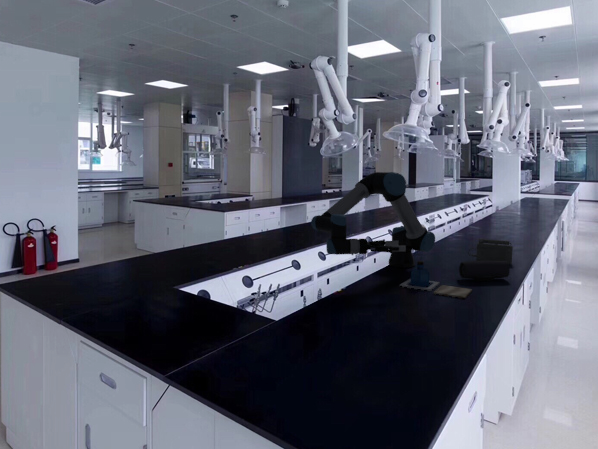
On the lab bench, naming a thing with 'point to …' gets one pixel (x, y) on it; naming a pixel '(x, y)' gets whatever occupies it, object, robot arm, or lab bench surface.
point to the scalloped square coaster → (420, 287)
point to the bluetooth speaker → (484, 270)
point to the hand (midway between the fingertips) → (401, 245)
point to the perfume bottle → (420, 275)
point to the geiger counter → (493, 251)
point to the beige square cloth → (453, 291)
